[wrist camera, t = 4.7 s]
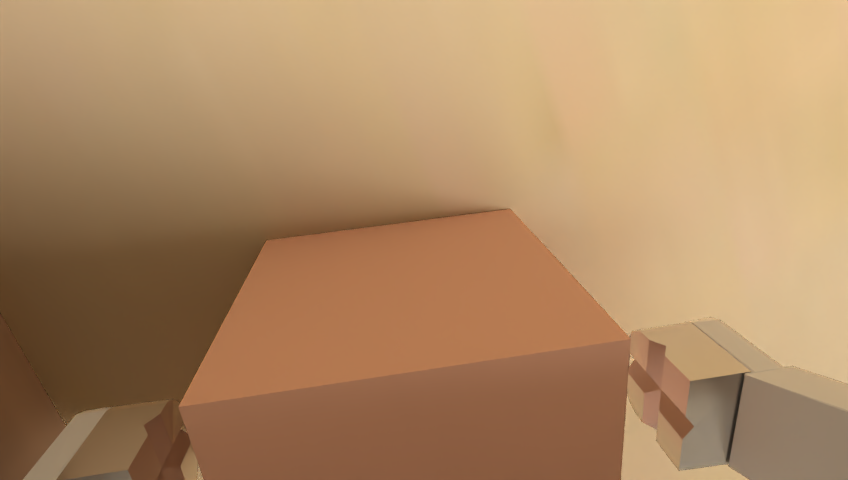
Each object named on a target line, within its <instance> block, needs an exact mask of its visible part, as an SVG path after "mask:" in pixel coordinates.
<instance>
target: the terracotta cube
mask: <svg viewBox="0 0 848 480" xmlns="http://www.w3.org/2000/svg"><path fill="white" fill-rule="evenodd" d="M630 344H631V339H630V338H629V336H628V335H627V334H626V333H625V332H624V331H623V330H622V329H621V328H620V327H619V326H618V325H617V323H616V322H615V321H614V320H613V319H612V318H611V317H610V316H609V315H608V314H607V313H606V312H605V311H604V309H603V308H602V307H601V306H600V305H599V304H598V303H597V302H596V301H595V300H594V299H593V298H592V297H591V295H590V294H589V293H588V292H587V291H586V290H585V289H584V288H583V287H582V286H581V285H580V284H579V282H578V281H577V280H576V279H575V278H574V277H573V276H572V275H571V274H570V273H569V272H568V271H567V270H566V268H565V267H564V266H563V265H562V264H561V263H560V262H559V261H558V260H557V259H556V258H555V257H554V256H553V254H552V253H551V252H550V251H549V250H548V249H547V248H546V247H545V246H544V245H543V244H542V243H541V241H540V240H539V239H538V238H537V237H536V236H535V235H534V234H533V233H532V232H531V231H530V230H529V229H528V227H527V226H526V225H525V224H524V223H523V222H522V221H521V220H520V219H519V218H518V217H517V216H516V215H515V213H514V212H513V211H512V210H511V209H505V210H497V211H490V212H482V213H474V214H466V215H459V216H451V217H443V218H435V219H428V220H420V221H412V222H404V223H396V224H389V225H381V226H373V227H365V228H358V229H350V230H342V231H334V232H326V233H319V234H311V235H303V236H295V237H288V238H280V239H272V240H266V242H265V244H264V246H263V247H262V249H261V251H260V253H259V255H258V257H257V259H256V261H255V263H254V265H253V266H252V268H251V270H250V272H249V274H248V276H247V278H246V280H245V282H244V283H243V285H242V287H241V289H240V291H239V293H238V295H237V297H236V299H235V301H234V302H233V304H232V306H231V308H230V310H229V312H228V314H227V316H226V318H225V319H224V321H223V323H222V325H221V327H220V329H219V331H218V333H217V335H216V336H215V338H214V340H213V342H212V344H211V346H210V348H209V350H208V352H207V354H206V355H205V357H204V359H203V361H202V363H201V365H200V367H199V369H198V371H197V372H196V374H195V376H194V378H193V380H192V382H191V384H190V386H189V388H188V389H187V391H186V393H185V395H184V397H183V399H182V401H181V403H180V405H179V407H178V408H179V411H180V414H181V416H182V419H183V422H184V425H185V428H186V430H187V433H188V436H189V439H190V442H191V444H192V447H193V450H194V453H195V456H196V459H197V461H198V464H199V467H200V470H201V473H202V475H203V478H204V480H621V467H622V453H623V440H624V426H625V412H626V398H627V385H628V371H629V357H630Z"/></svg>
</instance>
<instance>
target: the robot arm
mask: <svg viewBox="0 0 848 480" xmlns="http://www.w3.org/2000/svg"><path fill="white" fill-rule="evenodd" d="M629 338H630V339H631V344H630V354H631V355H632V356H633V357H634V359H635V360H634V361H633V363H632V364H631V365H630V366H629V371H628V385H627V393H628V397H629V401H630V403H631V405H632V407H633V409H634V411H635V413H636V414H637V416H638V417H639V418H640V420H641V421H642V422H643V423H645V424H647V425H649V426H651V427H653V428H655V429H657V435H656V441H657V443H658V444H659V445H660V447H661V448H662V449H663V451H664V452H665V453H666V455H667V456H668V457H669V458H670V460H671V461H672V462H673V464H674V465H675V466H676V468H677V469H678V470H679V471H680V470H687V469H694V468H702V467H709V466H716V465H723V464H729V465H728V466H729V467H730V468H732V469H733V470H735V471H737V472H738V473H740V474H742V475H743V476H745V477H746V478H748V479H750V480H848V384H846V383H843V382H840V381H837V380H834V379H831V378H828V377H825V376H822V375H819V374H815V373H812V372H809V371H806V370H803V369H800V368H797V367H794V366H790V367H783V366H781V365H780V364H779V363H777V362H776V361H775V360H773V359H772V358H771V357H769V356H768V355H767V354H765V353H764V352H762V351H761V350H760V349H758V348H757V347H756V346H754V345H753V344H752V343H750V342H749V341H748V340H746V339H745V338H744V337H742V336H741V335H740V334H738V333H737V332H736V331H734V330H733V329H732V328H730V327H729V326H728V325H726V324H725V323H724V322H722V321H721V320H719V319H716V318H712V317H709V318H703V319H698V320H692V321H687V322H684V323H679V324H673V325H667V326H661V327H654V328H648V329H642V330H636V331H632V332H631V335H630V337H629ZM179 405H180V402H178V401H176V400H174V399H168V400H160V401H152V402H144V403H136V404H128V405H121V406H115V407H106V408H99V409H93V410H86V411H83V412H81V413H79V414H76V415H75V416H74V417H73V419H72V420H71V421H70V422H69V423H68V425H67V426H66V427H65V428H64V430H63V431H62V432H61V433H60V435H59V436H58V437H57V438H56V439H55V441H54V442H53V443H52V444H51V446H50V447H49V448H48V449H47V450H46V452H45V453H44V454H43V455H42V457H41V458H40V459H39V460H38V462H37V463H36V464H35V465H34V466H33V468H32V469H31V470H30V471H29V473H28V474H27V475H26V476H25V477H24V479H23V480H197V472H198V461H197V459H196V456H195V453H194V450H193V447H192V444H191V442H190V439H189V436H188V434H187V433H186V432H184V431H183V430H181V427H182V425H183V423H184V422H183V419H182V416H181V414H180V411H179V408H178V407H179Z"/></svg>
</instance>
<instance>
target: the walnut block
mask: <svg viewBox="0 0 848 480" xmlns="http://www.w3.org/2000/svg"><path fill="white" fill-rule="evenodd" d="M65 427H66V426H65V424H64V423H63V421H62V419H61V417H60V416H59V414H58V412H57V410H56V409H55V407H54V405H53V404H52V402H51V400H50V398H49V397H48V395H47V393H46V391H45V390H44V388H43V386H42V384H41V383H40V381H39V379H38V377H37V376H36V374H35V372H34V370H33V369H32V367H31V365H30V364H29V362H28V360H27V358H26V357H25V355H24V353H23V351H22V350H21V348H20V346H19V344H18V343H17V341H16V339H15V337H14V336H13V334H12V332H11V330H10V329H9V327H8V325H7V324H6V322H5V320H4V318H3V317H2V315H1V313H0V480H23V479H24V477H25V476H26V475H27V474H28V473H29V471H30V470H31V469H32V468H33V466H34V465H35V464H36V463H37V462H38V460H39V459H40V458H41V457H42V455H43V454H44V453H45V452H46V450H47V449H48V448H49V447H50V446H51V444H52V443H53V442H54V441H55V439H56V438H57V437H58V436H59V435H60V433H61V432H62V431H63V430H64V428H65Z"/></svg>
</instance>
